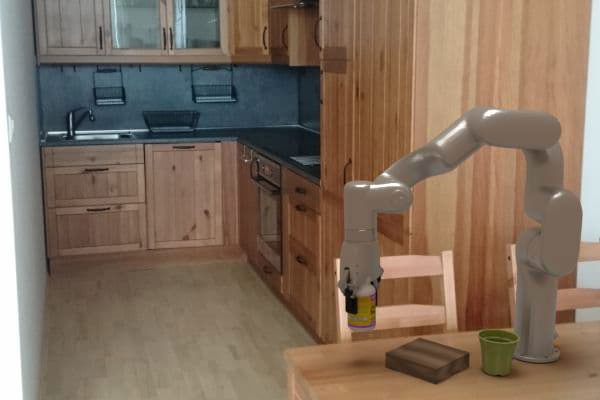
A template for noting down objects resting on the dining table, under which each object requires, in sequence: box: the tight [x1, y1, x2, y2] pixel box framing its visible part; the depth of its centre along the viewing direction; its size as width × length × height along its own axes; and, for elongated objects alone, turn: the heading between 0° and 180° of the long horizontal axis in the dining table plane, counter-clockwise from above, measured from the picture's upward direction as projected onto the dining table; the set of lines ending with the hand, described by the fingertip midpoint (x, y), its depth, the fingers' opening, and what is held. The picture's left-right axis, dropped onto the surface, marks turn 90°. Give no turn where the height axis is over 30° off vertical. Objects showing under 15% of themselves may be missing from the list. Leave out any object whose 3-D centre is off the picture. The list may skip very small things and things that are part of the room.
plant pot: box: [476, 328, 520, 377], centre depth 174 cm, size 9×9×9 cm
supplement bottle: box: [346, 277, 377, 333], centre depth 176 cm, size 7×7×13 cm
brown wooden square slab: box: [384, 337, 471, 385], centre depth 177 cm, size 14×14×4 cm
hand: (361, 308), depth 176 cm, fingers closed on supplement bottle, 6 cm apart
